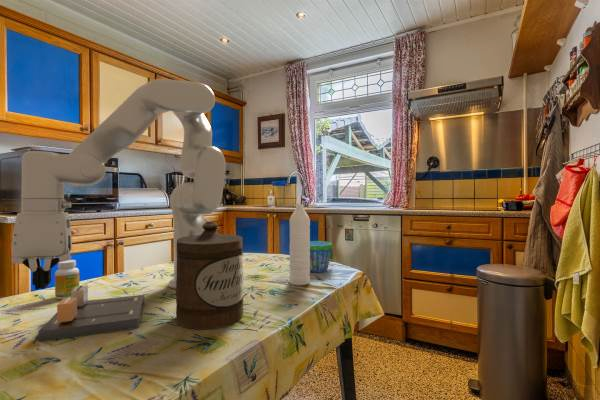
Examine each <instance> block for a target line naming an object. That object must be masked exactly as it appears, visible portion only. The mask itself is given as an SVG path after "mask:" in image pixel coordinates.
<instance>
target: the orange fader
mask: <svg viewBox="0 0 600 400" xmlns="http://www.w3.org/2000/svg"><path fill="white" fill-rule="evenodd" d="M56 313H57V323H59V322H67V321H72V320H73V319H74V317H75V316H76V315H77V297H76V298H66V299H61V300H60V301H59V302H58V303H57V304H56Z"/></svg>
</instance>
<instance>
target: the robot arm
mask: <svg viewBox="0 0 600 400" xmlns="http://www.w3.org/2000/svg"><path fill="white" fill-rule="evenodd" d="M215 104H216V97H215V94H214V91H213V90H212V89H211V88H210V87H209V86H208V85H207V84H205V83H202V82H199V81H198V82H197V81H187V80H179V79H170V78H156V79H151V80H150V81H148V82H146V83H144V84H142V85H140V86H139V87H137V88H136V89H135V90H134V92H132V93H131V94H130V95H129V96H128V97H127V98H126V99H125V100H124V101H123V102H122V103H121V104H120V105H119V106H118V107H117V108H116V109H115V110H114V111H113V112H112V113H111V114H110V115H109V116H108V117H107V118H106V119H104V120H103V121H102V122H101V123H100V124H99V125H98V126H97V127H96V128H95V129H94V130H93V131H92V132H91V133H90V134H89V135H87V136H86V138H84V140H82V141H81V142H80V143H79V144H78V145H77V146H76V147H75V148H74V149H73V150H72V151H70V153H69V154H68V153H58V152H52V151H44V150H43V151H42V150H30V151H26V152H24V153H23V155H22V157H21V201H20V203H21V207H20V212H17V214H16V216H15V221H14V225H13V229H12V230H13V231H12V239H11V248H10V249H11V250H10V251H11V255H12V257H11V260H10V261H11V263H13V264H19V265H24V266H25V267H26V268H28V269H29V271H30V272H32V282H31V283H32V285H33V286H34V290H44V289H46V288H47V287H49V285H50V284H51V283H52V269H53V268H54V267H55V266H56V265H58V263H59V262H63V261H67V260H72V255H71V251H72V248H73V246H72V245H73V240H72V228H71V219H70V215H69V212H68V211H67V212H64V211H65V210H66V209H67V208H72V202H71V201H67V200H66V199H64V198H65V183H66V184H68V185H71V186H75V187H81V186H82V187H86V186H87V187H89V186H94V185H96V184H99V183H100V182H101V181H102V180H103V179H104V178H105V176H106V173H107V170H106V169H107V167H106V165H105V164H106V163H107V162H108V161H109V160H110V159H111V158H113V157H114V156H115V155H116V154H118V153H120V152H121V151H123V150H125V149H127V148H129V147H130V146H131V145H133V144H134V143H135V142H137V141H138V140H139V138H141V136H143V134H144V133H145V132H146V131H147V129H148V128H150V126H151V125H152V124H153V123H155V121H156V120H157V119H158V118H159V117H160V116H161V115H162V114H164V113H165V114H166V113H167V112H172V113H173V114H174V115H175V116H176V118H177V119H178V120H179V121H180V123H181V125H182V127H183V142H182V148H181V149H182V150H181V154H180V161H179V169H180V172H181V174H182V175H183V176H185V177H186V178H189V179H194V180H193V182H189V181H188V182H182V183H180V184H178V185H177V186H176V187H174V188H173V190H172V192H171V194H170V207H171V213H172V219H173V220H172V221H173V222H172V223H173V279H172V278H171V280H169V281H168V287H169V288H170V289H174V290H176V280H177V240H178V239H179V238H182V237H187V236H194V235H201V234H202V233H203V231H204V229H203V228H202V226H203V224H204V223H206V218H205V215H210V214H212V213H214V212H216V211H217V210H218V208H219V207H220V205H221V201H222V198H223V193H224V192H223V191H224V186H225V185H224V184H225V179H226V171H227V162H226V158H225V156H224V153H223V152H222V151H221V150H220V149H219V148H218V147H216V146H213V130H212V126H211V124H210V122H209V120H208V119H207V117H206V116H205V114H207V113H209V112H210V111H211V110H212V109H213V108H214V107H215ZM41 258H44V263H43V266H42V263H41Z"/></svg>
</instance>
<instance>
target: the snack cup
mask: <svg viewBox="0 0 600 400" xmlns="http://www.w3.org/2000/svg"><path fill="white" fill-rule="evenodd" d="M334 256H335V255H334V248H333V244H332V242H329V241H323V240H313V241H311V240H310V273H315V274H316V273H317V274H318V273H326V272H328V270H329V263H330V259H331V260H332V259H333V258H334Z"/></svg>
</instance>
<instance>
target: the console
mask: <svg viewBox="0 0 600 400" xmlns="http://www.w3.org/2000/svg"><path fill="white" fill-rule="evenodd" d="M144 306H145V294H139V295H130V296H129V295H128V296H120V297H118V296H117V297H111V298H110V297H109V298H100V299H91V300H89V299H88V301H87V302H86V303H85V305H84V306H77V315H76V316H75V317H74V319H73V320H72V321H67V322H59V323H57V312H55V314H54V315H53V316H52V317H51V318H50V319H49V320H48V321H47V322H46V323H45V324H44V325H43V326H42V327H41V328H40V329H39V330H38V342H39V343H40V342H45V341H46V342H49V341H54V340H63V339H68V338H76V337H82V336H91V335H97V334H103V333H104V334H105V333H111V332H117V331H126V330H133V329H138V328H139V325H140V321H141V317H142V314H143V309H144Z"/></svg>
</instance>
